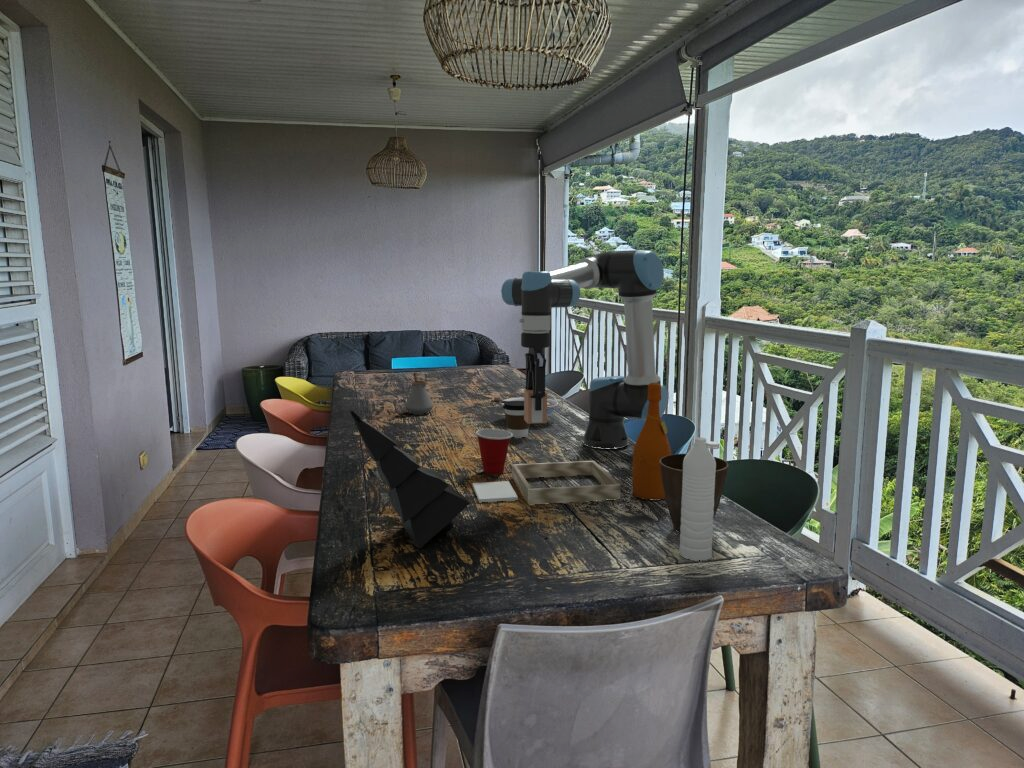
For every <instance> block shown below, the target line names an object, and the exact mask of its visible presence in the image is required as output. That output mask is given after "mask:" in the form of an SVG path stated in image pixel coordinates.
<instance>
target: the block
mask: <svg viewBox="0 0 1024 768" xmlns="http://www.w3.org/2000/svg"><path fill="white" fill-rule="evenodd" d="M523 392H524V393H523V394H524V395H523V397H524V420H525V421H526V422H527V423H528V424H530V425H531V424H533V423H532V398H531V397H530V396H533V390H526V389H524V391H523ZM547 399H548V392H547V391H545V397H543V423H542V424H547V422H548V417H547Z"/></svg>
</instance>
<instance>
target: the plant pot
mask: <svg viewBox="0 0 1024 768" xmlns="http://www.w3.org/2000/svg"><path fill="white" fill-rule="evenodd" d="M686 454H687V453H673V454H671V455H668V456H665V457H662V458H661V459H660V469H661V477H662V484H663V489H664V494H665V499H664V500H665V502H666V506H667V511H668V513H669V517H670V519H671V522H672V526H673V528H674V530H675V529H676V530H677V531H679V532H680V526H681V507H682V505H681V500H682V484H683V483H682V481H683V460H684V458H685V456H686ZM713 457H714V458H715V461H716V472H715V489H714V490H715V492H714V508H713V510H714V516H713V520H714V518H715V516H716V514H717V511H718V508H719V505H720V503H721V499H722V497H723V496H722V495H723V492H724V488H725V485H726V480H727V475H728V471H729V470H728V469H729V463H728V462H727V460H725V459H722V458H719V457H716V456H713ZM676 530H675V531H676ZM677 531H676V532H677ZM679 532H678V533H679Z"/></svg>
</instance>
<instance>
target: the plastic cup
mask: <svg viewBox="0 0 1024 768" xmlns="http://www.w3.org/2000/svg"><path fill="white" fill-rule="evenodd" d="M475 435H476V437H477V441H478V446H479V453H480V460H481V462H482V463H481V464H482V470H483V473H484V474H487V475H501V474H504V471H505V466H506V465H505V464H506V462H507V461H506V460H507V454H508V450H509V449H508V448H509V444H510V442H511V438H512V436H513V434H512V433H511V432H508V430H503V429H499V428H481V429H478V430H476V431H475Z"/></svg>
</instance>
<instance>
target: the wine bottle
mask: <svg viewBox="0 0 1024 768" xmlns="http://www.w3.org/2000/svg"><path fill="white" fill-rule="evenodd" d="M647 399H648V401H649V406H648V413H647V418H646V421H644V424H643V427H642V428H641V431H639V435H638V436H637V438H636V441H635V444H634V447H633V453H632V472H631V473H632V483H631V484H632V493H633V495H634V496H635V497H636V496H637V497H636V498H638V497H640V498H639V499H641V498H644V499H662V500H664V499H663V498H665V494H664V489H663V484H662V477H661V469H660V459H661V458H662V457H665V456H668V455H672V450H671V446H670V442H669V439H668V437H667V434H668V433H669V432H668V427H667V425H666V422H665V420H664V419H662V420H661V418H660V413H659V401H660V400H661V385H660V384H659V383H650V384H648V396H647ZM644 499H643V500H644Z"/></svg>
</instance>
